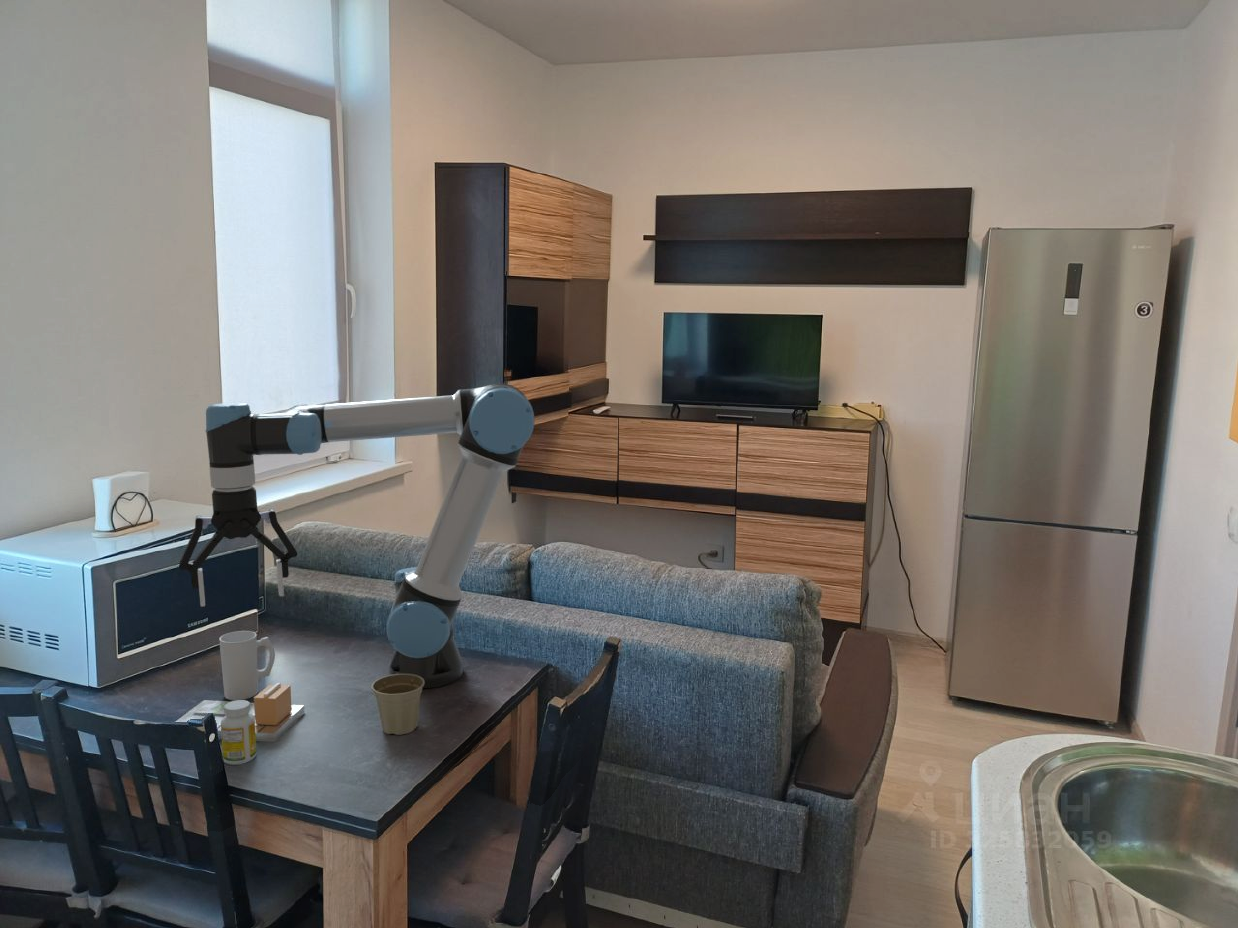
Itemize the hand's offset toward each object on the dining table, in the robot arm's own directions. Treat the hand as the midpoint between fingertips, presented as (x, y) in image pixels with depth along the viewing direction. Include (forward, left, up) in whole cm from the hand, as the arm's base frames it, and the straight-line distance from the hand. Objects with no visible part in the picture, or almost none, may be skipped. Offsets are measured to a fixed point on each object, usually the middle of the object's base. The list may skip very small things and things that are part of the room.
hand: (242, 599), depth 171 cm
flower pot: (-31, +4, -22) cm, 38 cm away
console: (-1, +6, -22) cm, 23 cm away
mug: (+4, -8, -22) cm, 24 cm away
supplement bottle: (-8, +18, -22) cm, 30 cm away
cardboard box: (-8, +6, -20) cm, 23 cm away
